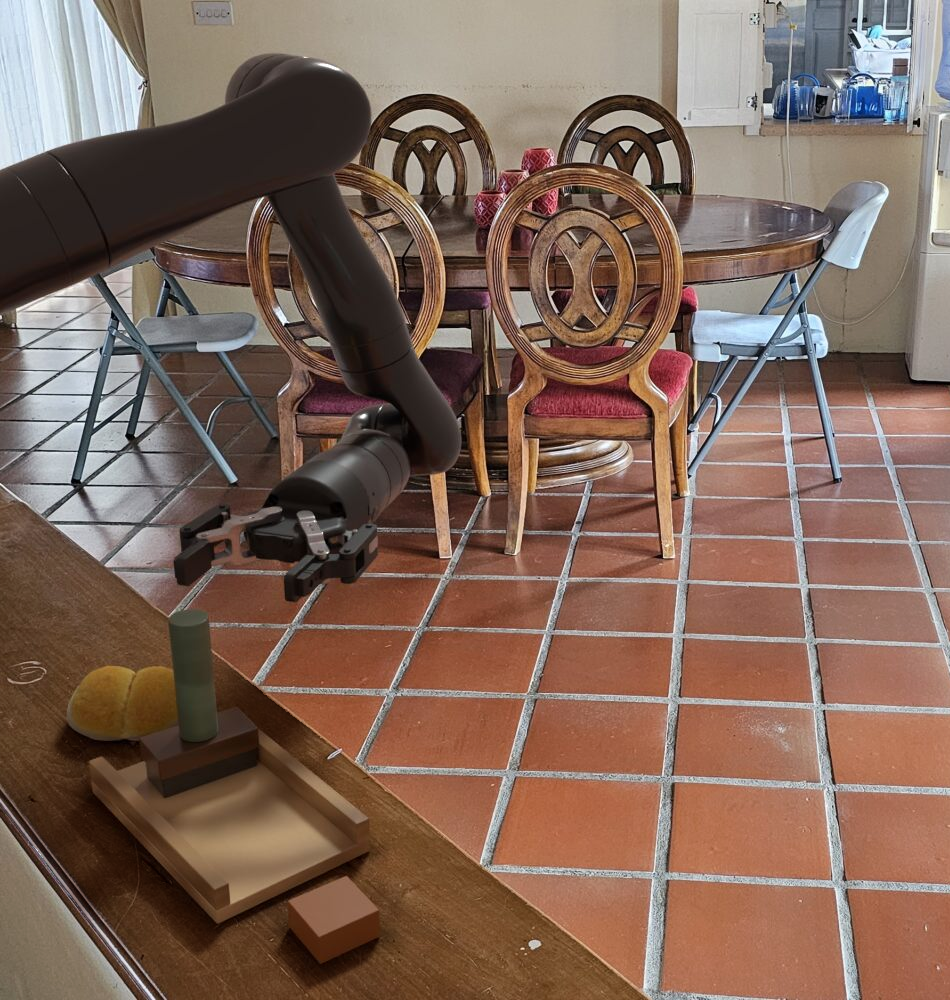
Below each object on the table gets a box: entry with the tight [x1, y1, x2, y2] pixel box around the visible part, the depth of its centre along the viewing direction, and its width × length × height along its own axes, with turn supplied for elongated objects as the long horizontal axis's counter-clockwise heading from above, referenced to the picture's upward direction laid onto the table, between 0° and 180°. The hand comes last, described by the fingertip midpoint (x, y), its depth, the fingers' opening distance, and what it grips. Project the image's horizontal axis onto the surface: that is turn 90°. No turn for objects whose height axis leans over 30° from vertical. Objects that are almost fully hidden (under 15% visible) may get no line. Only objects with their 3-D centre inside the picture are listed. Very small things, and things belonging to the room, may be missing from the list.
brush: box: [138, 608, 259, 798], centre depth 89 cm, size 4×7×12 cm, turn 129°
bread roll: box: [66, 665, 178, 742], centre depth 99 cm, size 8×9×4 cm
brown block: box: [287, 875, 381, 965], centre depth 78 cm, size 4×4×2 cm
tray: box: [88, 728, 371, 924], centre depth 88 cm, size 18×11×3 cm, turn 43°
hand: (234, 582), depth 93 cm, fingers open, 8 cm apart
